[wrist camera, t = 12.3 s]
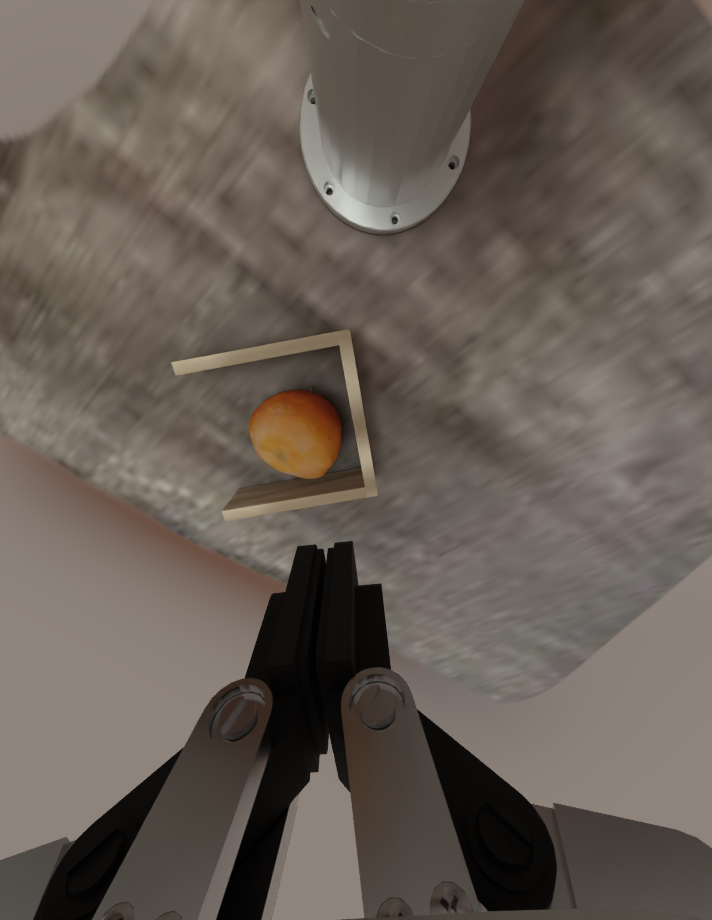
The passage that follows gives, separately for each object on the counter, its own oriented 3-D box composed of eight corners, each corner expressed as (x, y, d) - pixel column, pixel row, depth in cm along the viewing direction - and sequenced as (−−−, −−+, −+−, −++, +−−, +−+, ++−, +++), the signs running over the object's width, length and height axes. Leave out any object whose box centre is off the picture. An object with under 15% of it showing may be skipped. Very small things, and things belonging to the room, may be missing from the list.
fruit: (375, 411, 31) (344, 468, 26) (330, 450, 37) (296, 504, 31) (308, 349, 29) (258, 396, 24) (271, 400, 35) (223, 447, 29)
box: (198, 359, 31) (171, 362, 26) (349, 331, 30) (349, 328, 26) (242, 497, 35) (225, 520, 31) (374, 475, 35) (378, 495, 30)
